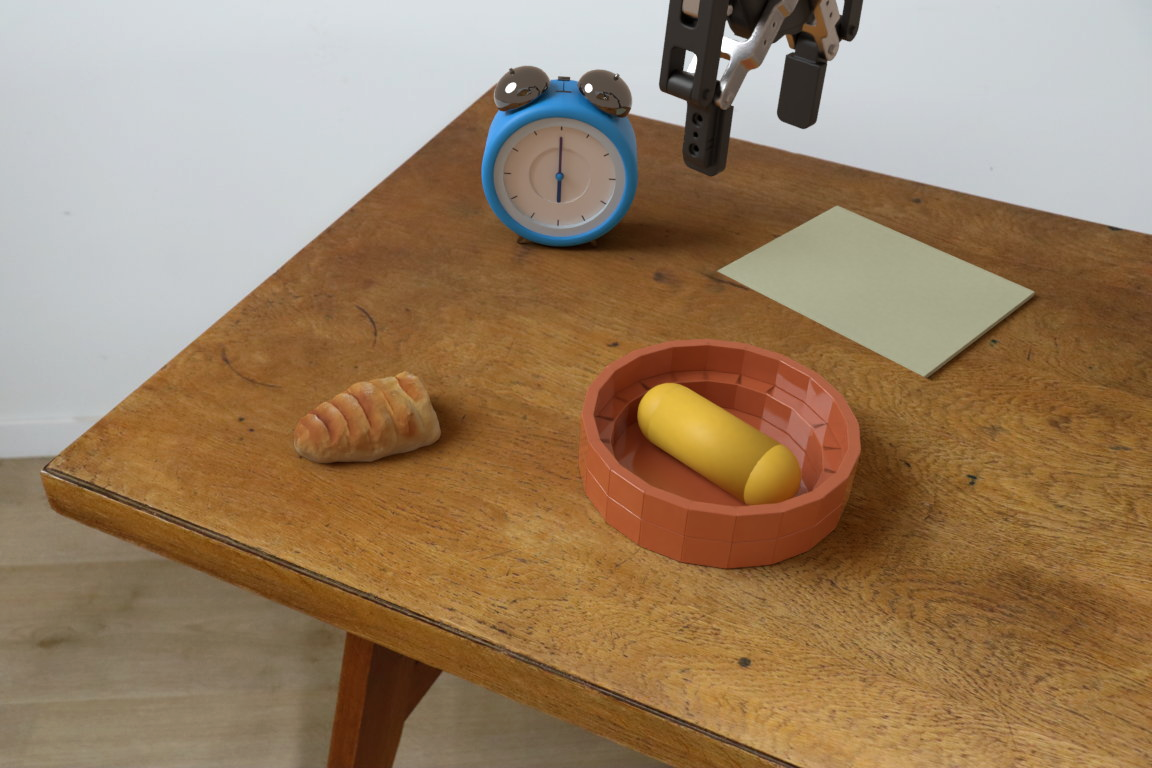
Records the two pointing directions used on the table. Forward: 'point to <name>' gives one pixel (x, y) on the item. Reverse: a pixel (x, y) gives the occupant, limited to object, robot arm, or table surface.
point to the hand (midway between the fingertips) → (751, 145)
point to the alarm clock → (560, 156)
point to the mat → (880, 288)
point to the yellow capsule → (719, 445)
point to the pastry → (369, 422)
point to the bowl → (689, 500)
